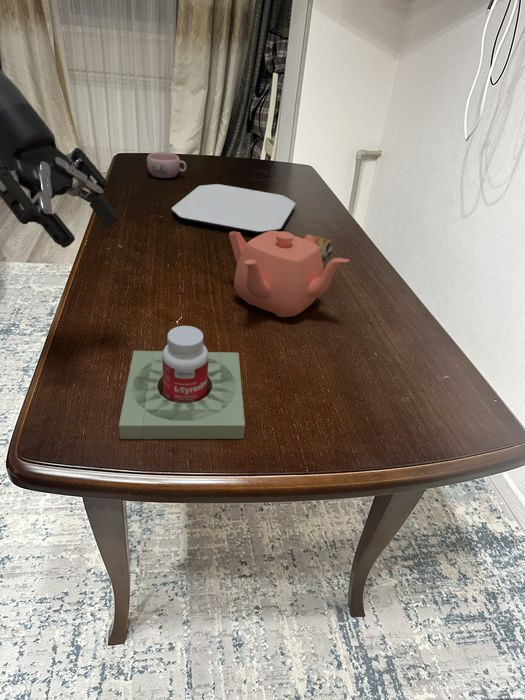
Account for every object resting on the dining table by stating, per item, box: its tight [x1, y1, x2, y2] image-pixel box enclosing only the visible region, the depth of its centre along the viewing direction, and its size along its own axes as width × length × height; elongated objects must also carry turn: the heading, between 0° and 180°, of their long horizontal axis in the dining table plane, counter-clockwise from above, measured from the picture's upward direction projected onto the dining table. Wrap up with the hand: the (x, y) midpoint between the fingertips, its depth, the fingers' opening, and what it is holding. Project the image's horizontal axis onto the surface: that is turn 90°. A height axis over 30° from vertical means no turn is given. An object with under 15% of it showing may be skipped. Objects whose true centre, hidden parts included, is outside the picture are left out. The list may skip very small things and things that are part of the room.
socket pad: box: [118, 350, 246, 440], centre depth 70 cm, size 16×16×2 cm
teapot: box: [228, 230, 350, 318], centre depth 91 cm, size 18×18×14 cm
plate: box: [171, 183, 296, 234], centre depth 131 cm, size 29×29×2 cm
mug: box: [146, 151, 187, 179], centre depth 150 cm, size 12×10×6 cm
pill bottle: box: [162, 325, 209, 403], centre depth 67 cm, size 6×6×11 cm
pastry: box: [299, 235, 333, 260], centre depth 115 cm, size 9×7×4 cm
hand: (92, 232), depth 63 cm, fingers open, 8 cm apart
